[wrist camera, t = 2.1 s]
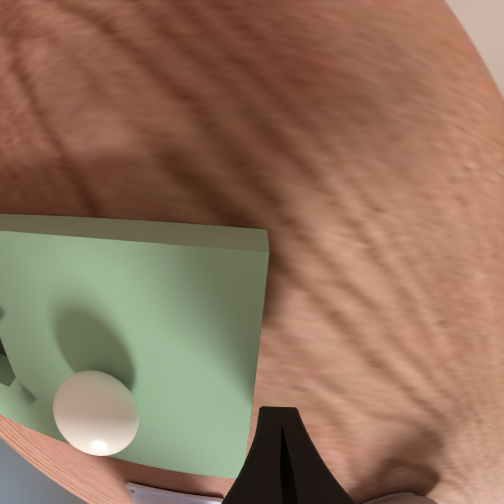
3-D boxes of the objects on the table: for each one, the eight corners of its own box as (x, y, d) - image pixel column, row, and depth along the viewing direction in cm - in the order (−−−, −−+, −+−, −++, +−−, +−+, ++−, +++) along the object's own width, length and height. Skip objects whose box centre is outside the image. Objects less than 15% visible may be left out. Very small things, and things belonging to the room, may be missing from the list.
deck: (244, 445, 16) (242, 478, 14) (-14, 378, 16) (-30, 397, 14) (267, 229, 12) (269, 252, 9) (-63, 212, 12) (-89, 223, 9)
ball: (153, 419, 12) (133, 480, 9) (85, 402, 12) (56, 456, 9) (143, 361, 11) (112, 429, 8) (66, 345, 11) (25, 400, 8)
